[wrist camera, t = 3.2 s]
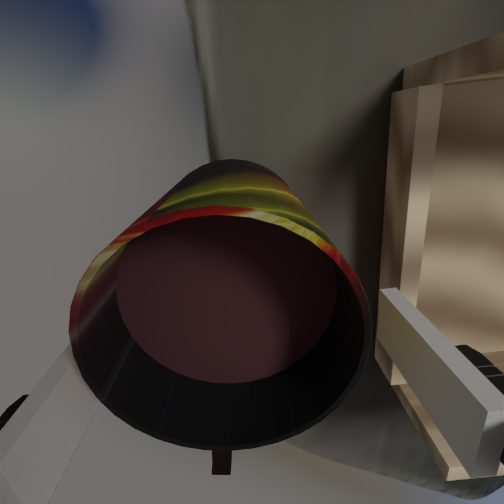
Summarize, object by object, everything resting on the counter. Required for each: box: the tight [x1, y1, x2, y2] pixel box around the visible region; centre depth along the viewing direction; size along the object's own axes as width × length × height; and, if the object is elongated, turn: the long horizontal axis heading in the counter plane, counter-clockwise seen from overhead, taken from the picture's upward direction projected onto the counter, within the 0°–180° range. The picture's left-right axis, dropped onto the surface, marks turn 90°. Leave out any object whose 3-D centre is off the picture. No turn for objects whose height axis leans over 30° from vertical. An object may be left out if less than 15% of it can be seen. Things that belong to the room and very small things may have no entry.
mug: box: [69, 159, 373, 475], centre depth 16 cm, size 10×14×12 cm
